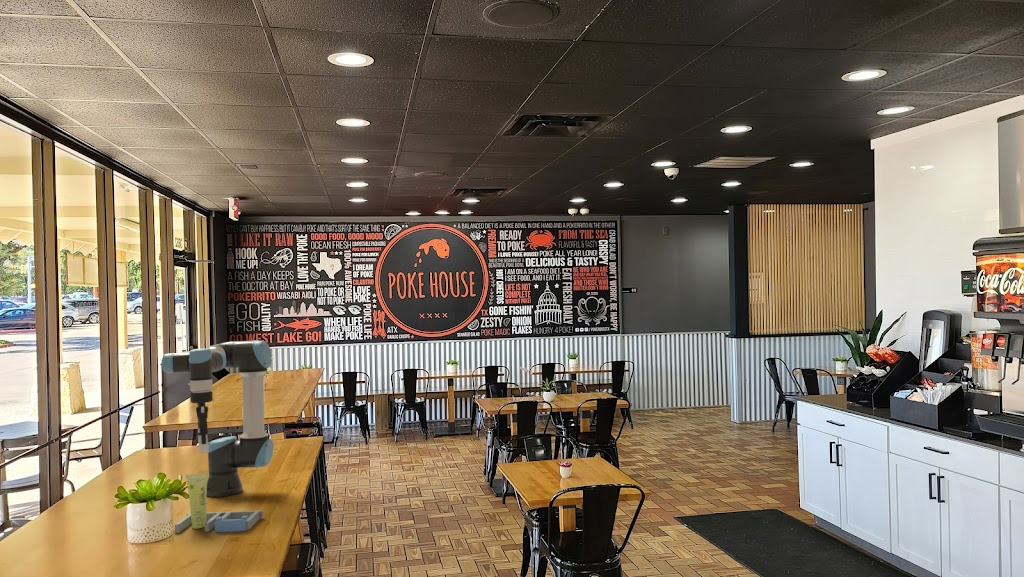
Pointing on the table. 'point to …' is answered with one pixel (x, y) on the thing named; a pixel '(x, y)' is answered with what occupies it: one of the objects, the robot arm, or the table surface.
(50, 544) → the table surface
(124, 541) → the table surface
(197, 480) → the tube
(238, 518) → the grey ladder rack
